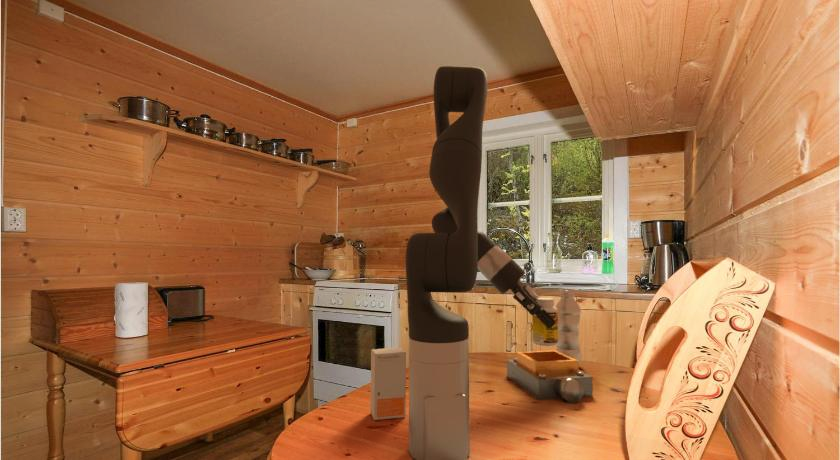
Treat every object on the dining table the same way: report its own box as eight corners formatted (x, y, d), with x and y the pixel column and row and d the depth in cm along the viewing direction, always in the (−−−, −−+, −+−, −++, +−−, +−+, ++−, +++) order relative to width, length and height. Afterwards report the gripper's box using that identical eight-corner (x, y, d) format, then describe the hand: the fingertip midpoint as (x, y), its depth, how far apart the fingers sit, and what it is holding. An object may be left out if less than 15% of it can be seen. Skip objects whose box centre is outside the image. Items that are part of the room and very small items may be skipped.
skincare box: (373, 421, 78) (373, 353, 78) (370, 413, 82) (370, 348, 82) (406, 417, 79) (406, 351, 80) (401, 409, 83) (401, 346, 84)
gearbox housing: (601, 401, 88) (600, 368, 88) (545, 405, 85) (545, 371, 86) (553, 373, 107) (552, 346, 107) (507, 376, 105) (506, 349, 105)
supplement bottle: (546, 347, 94) (546, 300, 95) (527, 343, 99) (526, 298, 99) (563, 344, 97) (562, 298, 98) (544, 340, 102) (543, 296, 102)
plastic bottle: (549, 365, 115) (548, 289, 116) (569, 362, 118) (567, 288, 119) (567, 371, 109) (566, 291, 110) (587, 368, 112) (586, 290, 113)
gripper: (506, 259, 95) (565, 317, 90) (515, 257, 108) (566, 307, 104) (482, 282, 96) (539, 340, 92) (494, 278, 110) (543, 328, 105)
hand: (553, 323), depth 98 cm, fingers closed on supplement bottle, 5 cm apart
